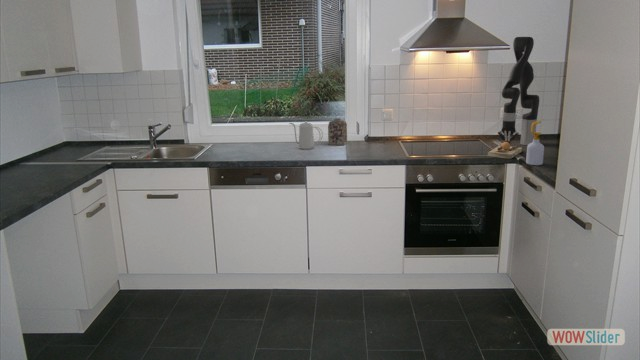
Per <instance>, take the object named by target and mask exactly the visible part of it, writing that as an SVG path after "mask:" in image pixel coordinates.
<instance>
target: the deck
mask: <svg viewBox="0 0 640 360" xmlns="http://www.w3.org/2000/svg"><path fill="white" fill-rule="evenodd" d="M522 152H523V147H521V146H519V147H518V144H515V145H514V146H512V145H510V148H509V149H508V150H504V149H503V148H502V144H501V145H498V146H497V147H495V148H493V149H491V150H490V151H488V152H487V157H491V158H492V157H493V158H500V159H501V158H502V159H509V160H510V159H512V158H514V157H515V156H517V155H519V154H520V153H522Z"/></svg>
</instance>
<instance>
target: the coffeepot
mask: <svg viewBox="0 0 640 360" xmlns="http://www.w3.org/2000/svg"><path fill="white" fill-rule="evenodd" d="M288 125H292V126H293V127H294V128H293V129H294V136H295V137H294V139H295V142H296V144H298V148H299V150H312V149H315V145H317V144H319V143H320V142H321V141H322V139H323V135H324V131H323V130H322V129H321V128H320V127H318V126H313V124H312V123H310V122H308V121H307V120H305V121H303V122H301V123H300V125H298V127H299V130H298V131H299V133H298V135H299V136H298V137H297V130H296V124H294V123H292V122H289V123H288ZM314 129H316V130H317V131H318V134H319V138H318V140H317V142H316V143H315V138H314V137H315V136H314ZM297 138H298V139H297Z"/></svg>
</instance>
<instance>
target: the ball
mask: <svg viewBox="0 0 640 360" xmlns="http://www.w3.org/2000/svg"><path fill="white" fill-rule="evenodd" d="M501 146H502V148H503V149H504V150H508V149H509V148H510V146H511V143H510V144H509V143H508V142H505V141H503V142H502V143H501Z"/></svg>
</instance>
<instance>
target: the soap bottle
mask: <svg viewBox="0 0 640 360" xmlns="http://www.w3.org/2000/svg"><path fill="white" fill-rule="evenodd" d="M541 123H542V120H537V122H534V123H532V125H531V133H533V134H534V136H535V138H533V142H532V143H530V144H529V145H526V157H525V158H526V159H525V163H526V164H527V165H530V166H541V165H543V164H544V154H545V153H544V152H545V146H544V144H542V143H541V142H540V137H539V136H540V135H542V133H541V132H536V133H534V132H533V126H534V125H535V124H537V125H538V124H541Z"/></svg>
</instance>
